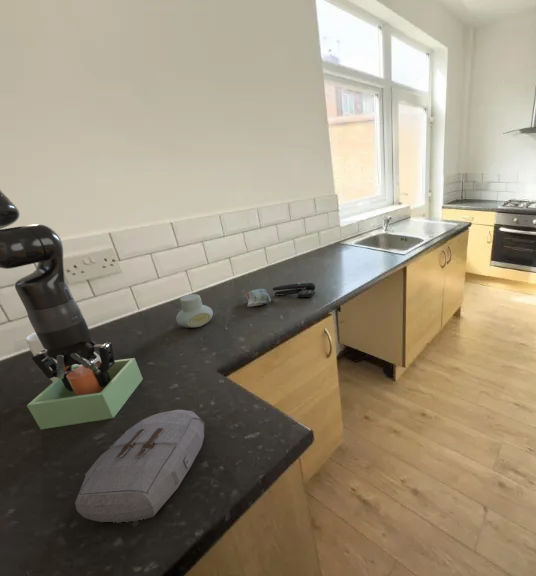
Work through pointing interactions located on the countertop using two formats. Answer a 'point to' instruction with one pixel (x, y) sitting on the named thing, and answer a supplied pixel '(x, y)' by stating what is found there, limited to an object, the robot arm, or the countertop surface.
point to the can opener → (297, 289)
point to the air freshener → (193, 312)
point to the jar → (83, 381)
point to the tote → (86, 398)
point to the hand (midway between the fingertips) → (90, 386)
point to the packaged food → (257, 297)
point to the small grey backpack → (141, 468)
